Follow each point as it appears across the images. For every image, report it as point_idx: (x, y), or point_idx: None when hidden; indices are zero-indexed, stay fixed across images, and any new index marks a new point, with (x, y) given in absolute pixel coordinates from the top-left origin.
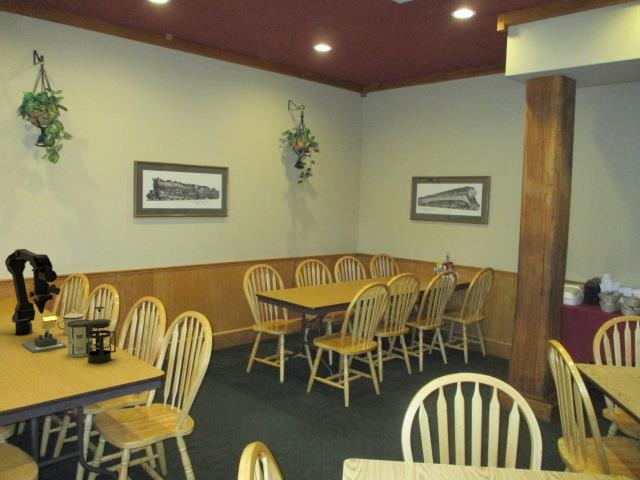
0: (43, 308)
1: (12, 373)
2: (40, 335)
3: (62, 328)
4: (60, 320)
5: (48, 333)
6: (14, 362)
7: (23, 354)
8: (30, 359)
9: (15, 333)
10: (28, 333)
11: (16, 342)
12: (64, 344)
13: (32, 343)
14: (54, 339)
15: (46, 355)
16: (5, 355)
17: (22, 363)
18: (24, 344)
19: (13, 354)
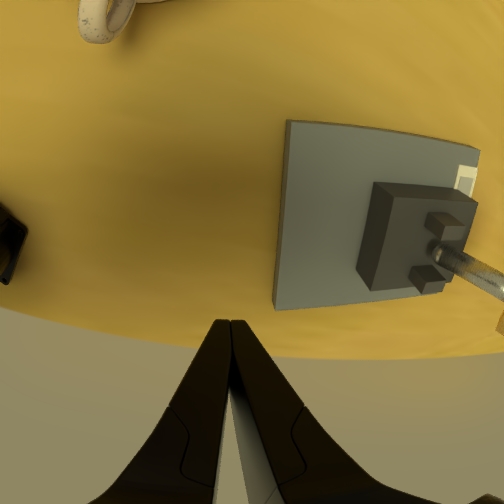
0: (285, 388)
1: (500, 342)
2: (438, 288)
3: (113, 4)
4: (96, 4)
5: (474, 258)
6: (455, 340)
7: (414, 315)
8: (473, 303)
9: (2, 278)
10: (14, 221)
11: (181, 308)
12: (470, 153)
13: (330, 273)
14: (473, 214)
15: (485, 255)
16: (372, 359)
17: (478, 324)
18: (317, 306)
19: (384, 340)
